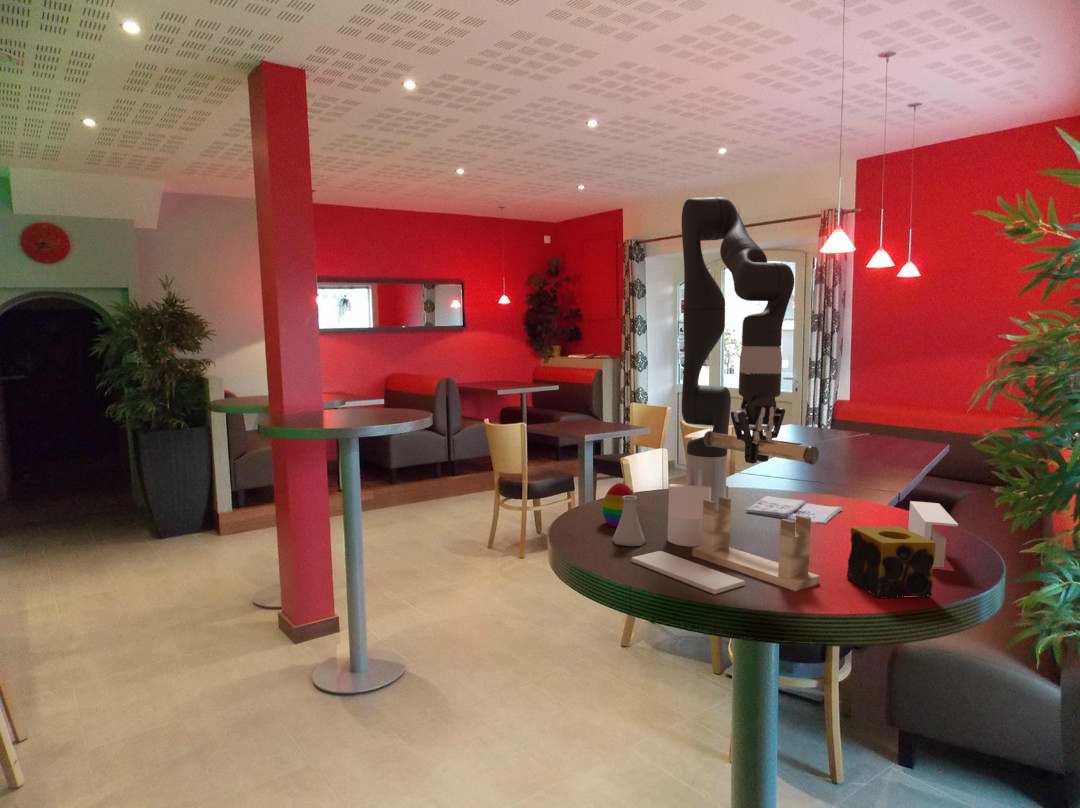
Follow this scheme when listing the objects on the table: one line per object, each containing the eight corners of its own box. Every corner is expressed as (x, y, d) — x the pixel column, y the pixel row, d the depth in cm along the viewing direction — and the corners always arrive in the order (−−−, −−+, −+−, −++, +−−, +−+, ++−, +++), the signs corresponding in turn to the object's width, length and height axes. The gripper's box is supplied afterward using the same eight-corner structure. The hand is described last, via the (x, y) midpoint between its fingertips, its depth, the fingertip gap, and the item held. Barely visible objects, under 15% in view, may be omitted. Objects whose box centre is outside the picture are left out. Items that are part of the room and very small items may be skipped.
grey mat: (660, 554, 139) (660, 550, 139) (744, 585, 122) (744, 580, 122) (631, 561, 135) (631, 557, 135) (714, 594, 118) (714, 589, 118)
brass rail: (703, 447, 138) (703, 431, 138) (713, 445, 140) (714, 430, 139) (807, 465, 119) (808, 447, 118) (818, 463, 121) (819, 445, 120)
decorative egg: (633, 520, 166) (634, 479, 165) (639, 529, 158) (640, 486, 157) (600, 520, 166) (601, 479, 165) (604, 529, 158) (605, 486, 157)
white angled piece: (955, 572, 131) (958, 524, 130) (922, 569, 133) (925, 521, 132) (934, 544, 149) (937, 502, 149) (906, 541, 151) (908, 499, 151)
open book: (767, 501, 190) (767, 493, 190) (844, 512, 179) (845, 504, 179) (743, 514, 175) (743, 506, 175) (826, 528, 163) (827, 519, 163)
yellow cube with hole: (845, 579, 126) (848, 526, 126) (897, 578, 127) (900, 525, 126) (877, 599, 116) (880, 542, 115) (933, 598, 117) (937, 541, 116)
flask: (644, 548, 144) (646, 501, 143) (610, 546, 145) (611, 499, 144) (646, 538, 151) (647, 494, 150) (613, 536, 152) (614, 492, 151)
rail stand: (715, 549, 143) (717, 494, 142) (819, 583, 123) (822, 519, 122) (692, 555, 139) (694, 498, 138) (795, 591, 119) (798, 525, 118)
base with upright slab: (711, 537, 153) (712, 484, 151) (707, 548, 144) (709, 492, 143) (670, 533, 155) (672, 481, 154) (664, 543, 147) (666, 489, 146)
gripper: (766, 369, 135) (763, 455, 136) (719, 370, 127) (716, 462, 128) (800, 371, 129) (796, 461, 130) (753, 372, 121) (749, 468, 122)
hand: (756, 461), depth 129 cm, fingers closed on brass rail, 2 cm apart
